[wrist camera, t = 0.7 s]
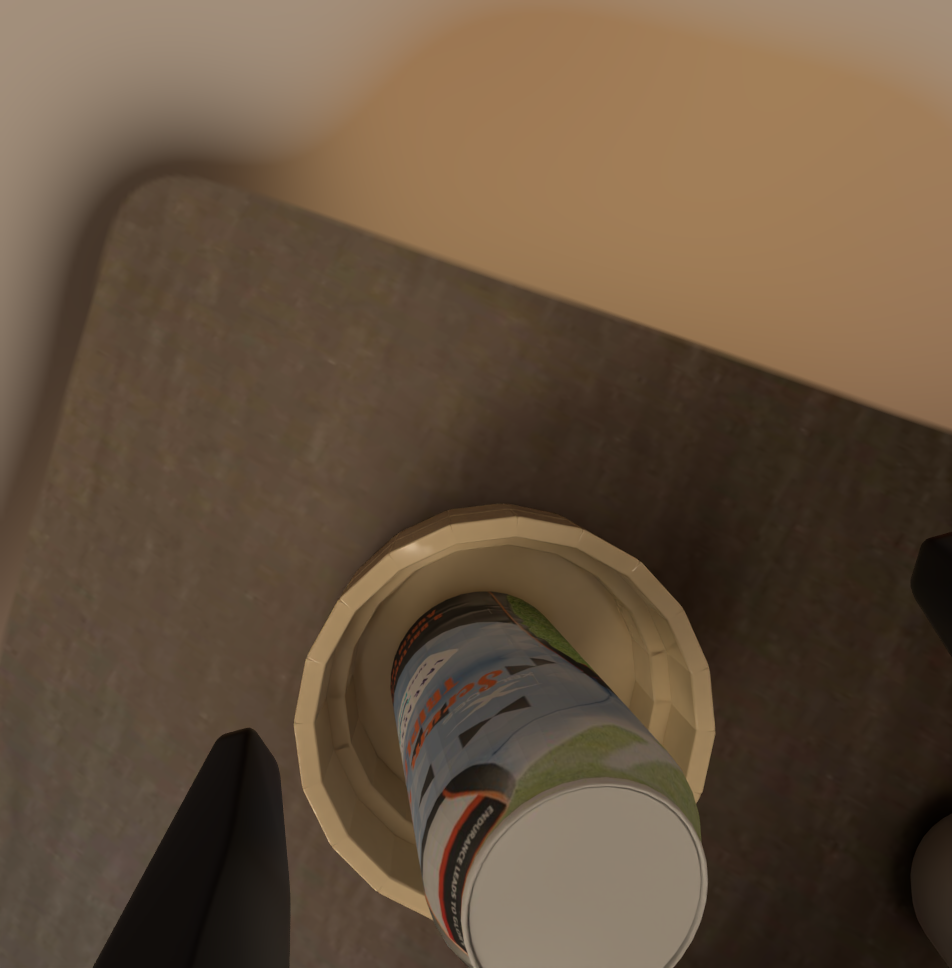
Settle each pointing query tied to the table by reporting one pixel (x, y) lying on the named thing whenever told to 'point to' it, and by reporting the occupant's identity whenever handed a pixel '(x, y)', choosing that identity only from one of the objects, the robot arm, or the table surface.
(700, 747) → the bowl
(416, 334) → the table surface
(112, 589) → the table surface
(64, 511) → the table surface
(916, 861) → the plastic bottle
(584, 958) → the beverage can
